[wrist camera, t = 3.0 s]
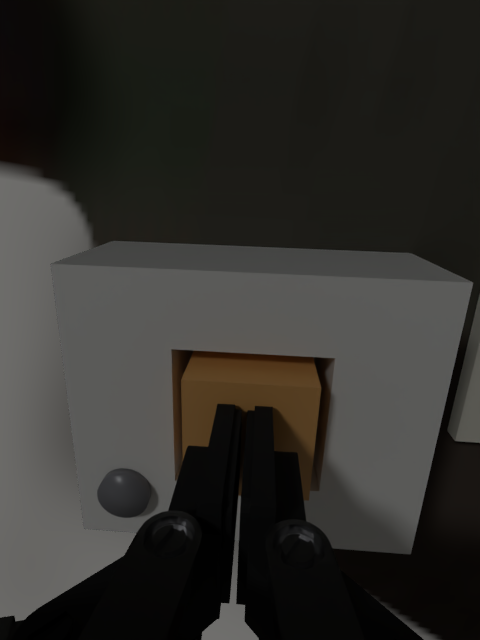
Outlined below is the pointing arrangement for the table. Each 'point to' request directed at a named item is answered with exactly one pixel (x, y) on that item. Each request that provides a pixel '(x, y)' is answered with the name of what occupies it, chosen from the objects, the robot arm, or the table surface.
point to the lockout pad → (468, 391)
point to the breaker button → (254, 400)
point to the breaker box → (260, 338)
